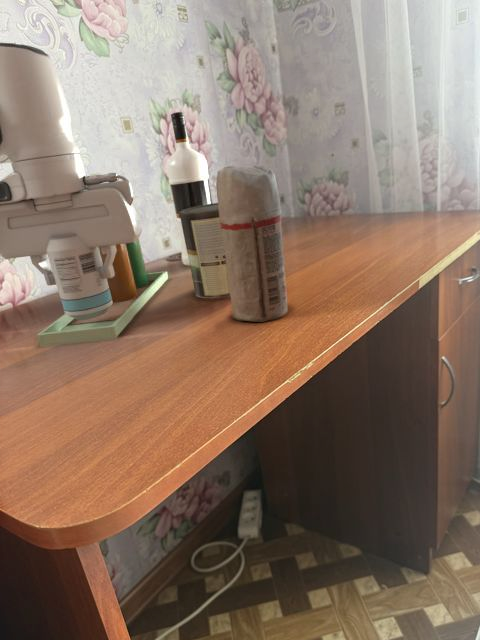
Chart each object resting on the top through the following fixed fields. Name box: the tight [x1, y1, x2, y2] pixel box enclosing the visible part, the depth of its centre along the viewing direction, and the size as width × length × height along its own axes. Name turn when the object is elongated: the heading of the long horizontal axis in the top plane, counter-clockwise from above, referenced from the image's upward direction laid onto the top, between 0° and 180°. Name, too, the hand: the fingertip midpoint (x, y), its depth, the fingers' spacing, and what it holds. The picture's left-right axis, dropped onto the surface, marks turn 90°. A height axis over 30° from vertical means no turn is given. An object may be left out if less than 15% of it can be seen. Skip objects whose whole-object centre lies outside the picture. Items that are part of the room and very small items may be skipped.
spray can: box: [215, 165, 289, 323], centre depth 67 cm, size 8×8×20 cm
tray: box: [36, 270, 169, 348], centre depth 83 cm, size 11×31×2 cm, turn 177°
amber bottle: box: [98, 244, 139, 303], centre depth 84 cm, size 5×5×18 cm
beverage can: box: [47, 234, 114, 321], centre depth 72 cm, size 7×7×12 cm
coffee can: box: [179, 202, 230, 299], centre depth 82 cm, size 10×10×14 cm
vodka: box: [165, 111, 213, 266], centre depth 103 cm, size 9×9×30 cm
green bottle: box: [126, 237, 150, 290], centre depth 91 cm, size 5×5×18 cm
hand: (81, 280), depth 72 cm, fingers closed on beverage can, 7 cm apart
